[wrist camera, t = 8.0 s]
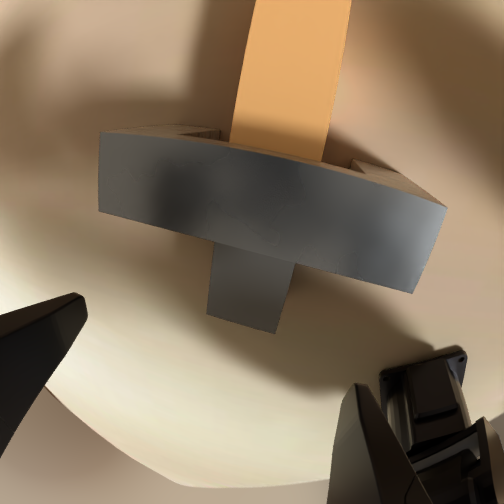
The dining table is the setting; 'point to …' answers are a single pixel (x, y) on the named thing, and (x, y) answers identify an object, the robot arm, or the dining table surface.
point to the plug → (278, 134)
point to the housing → (271, 202)
